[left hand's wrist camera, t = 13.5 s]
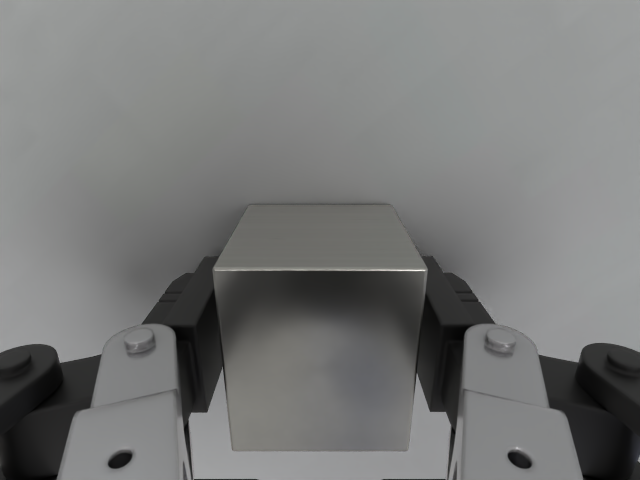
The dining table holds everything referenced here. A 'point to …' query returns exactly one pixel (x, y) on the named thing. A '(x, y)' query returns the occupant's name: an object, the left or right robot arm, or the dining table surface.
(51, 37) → the dining table surface
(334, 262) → the block
